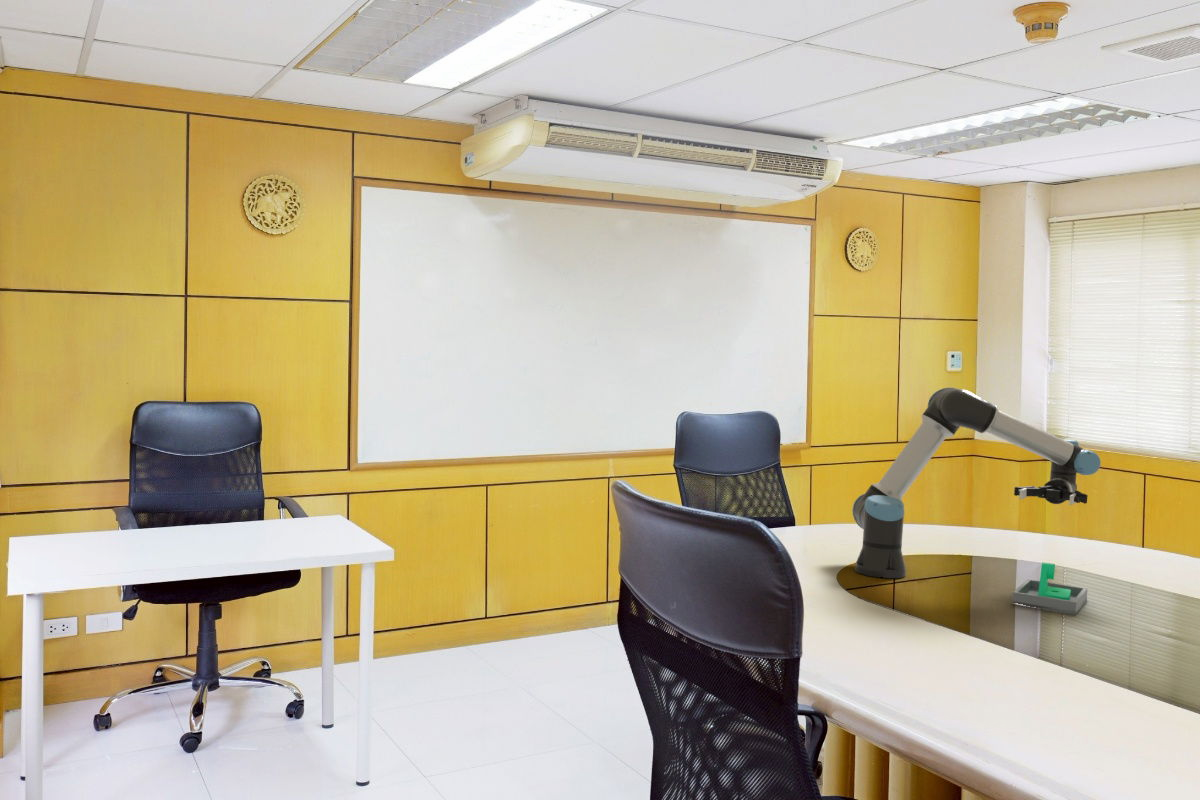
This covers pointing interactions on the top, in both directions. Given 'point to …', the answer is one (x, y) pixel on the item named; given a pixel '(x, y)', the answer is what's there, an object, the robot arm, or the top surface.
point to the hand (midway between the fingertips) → (1045, 497)
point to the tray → (1029, 597)
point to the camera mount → (1052, 592)
